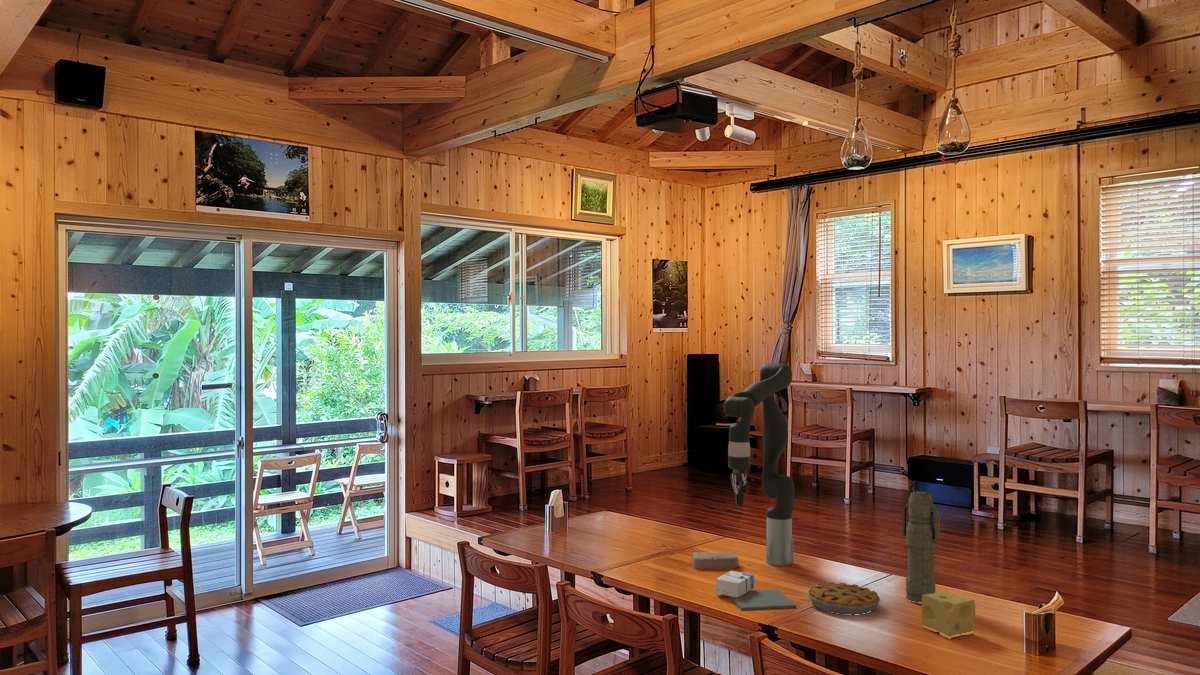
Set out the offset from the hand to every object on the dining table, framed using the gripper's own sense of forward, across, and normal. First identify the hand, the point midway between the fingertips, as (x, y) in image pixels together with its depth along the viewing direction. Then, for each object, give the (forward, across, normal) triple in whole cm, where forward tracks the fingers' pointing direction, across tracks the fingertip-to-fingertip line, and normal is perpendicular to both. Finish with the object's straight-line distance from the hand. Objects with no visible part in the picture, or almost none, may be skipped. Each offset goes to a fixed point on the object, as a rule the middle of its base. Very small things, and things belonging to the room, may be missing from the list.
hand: (739, 504), depth 273 cm
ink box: (+24, -7, +1) cm, 25 cm away
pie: (+28, -27, -26) cm, 46 cm away
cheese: (+28, -52, -45) cm, 74 cm away
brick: (+28, +21, +2) cm, 35 cm away
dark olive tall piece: (+27, -26, -52) cm, 65 cm away
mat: (+27, -19, -1) cm, 33 cm away
